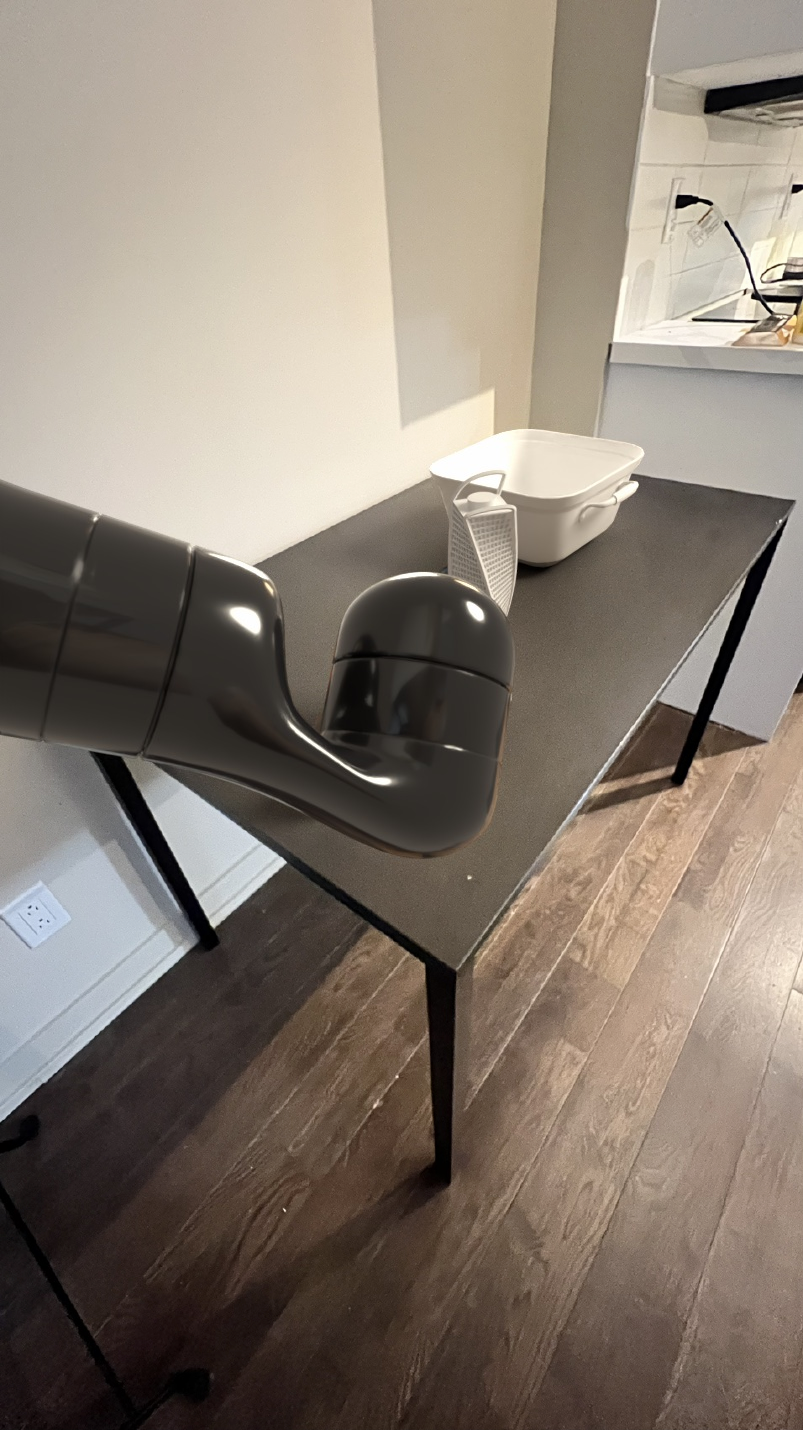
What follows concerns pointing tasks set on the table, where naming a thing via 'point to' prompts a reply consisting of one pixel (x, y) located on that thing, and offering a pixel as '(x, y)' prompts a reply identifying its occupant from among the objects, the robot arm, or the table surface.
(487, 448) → the white tub with handles
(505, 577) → the white tall perforated tower
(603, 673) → the table surface
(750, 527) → the table surface
